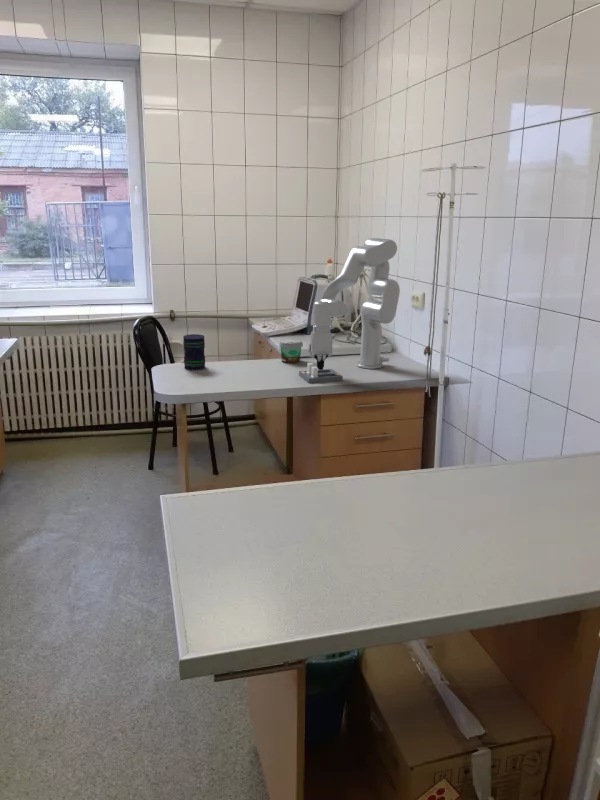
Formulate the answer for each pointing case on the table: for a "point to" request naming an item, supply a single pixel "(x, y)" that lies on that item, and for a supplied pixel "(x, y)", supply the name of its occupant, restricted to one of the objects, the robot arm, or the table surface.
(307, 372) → the tab
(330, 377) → the switch bank
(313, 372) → the tab
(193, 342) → the storage jar
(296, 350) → the food container
